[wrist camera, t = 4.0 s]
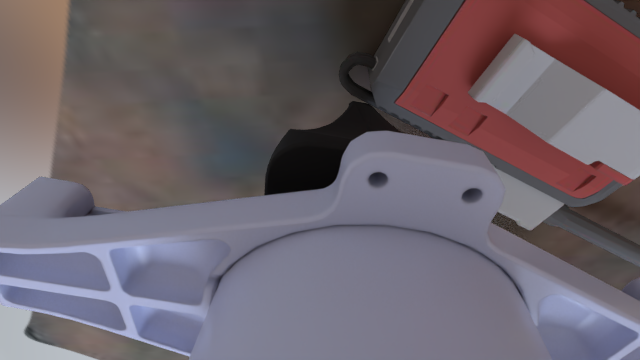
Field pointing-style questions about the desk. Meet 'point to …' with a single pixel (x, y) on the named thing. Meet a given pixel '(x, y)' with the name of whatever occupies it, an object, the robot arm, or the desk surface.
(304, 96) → the desk surface
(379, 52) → the walkie-talkie
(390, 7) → the desk surface
